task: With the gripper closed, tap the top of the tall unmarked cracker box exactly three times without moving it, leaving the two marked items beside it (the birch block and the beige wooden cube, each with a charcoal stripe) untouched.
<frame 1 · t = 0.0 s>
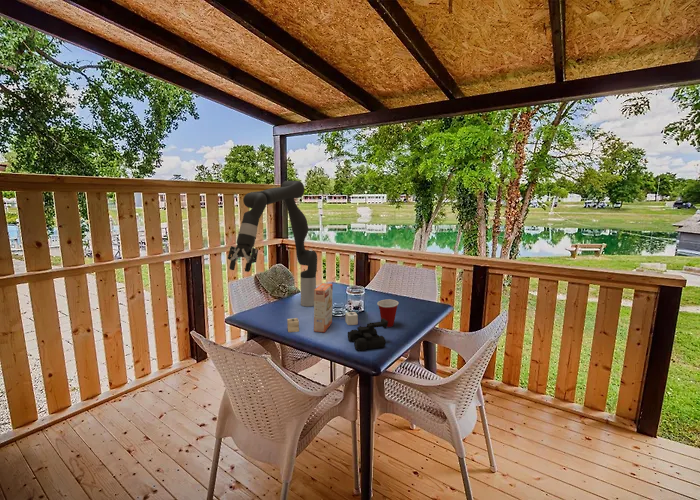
hand: (239, 270, 141), 31 cm above the table, tool tilted 20°, fingers open, 8 cm apart
plastic cup: (387, 325, 165), on the table
night vision goggles: (369, 343, 143), on the table
cracker box: (323, 327, 161), on the table
birch block: (293, 330, 157), on the table
beige wooden cube: (351, 323, 167), on the table
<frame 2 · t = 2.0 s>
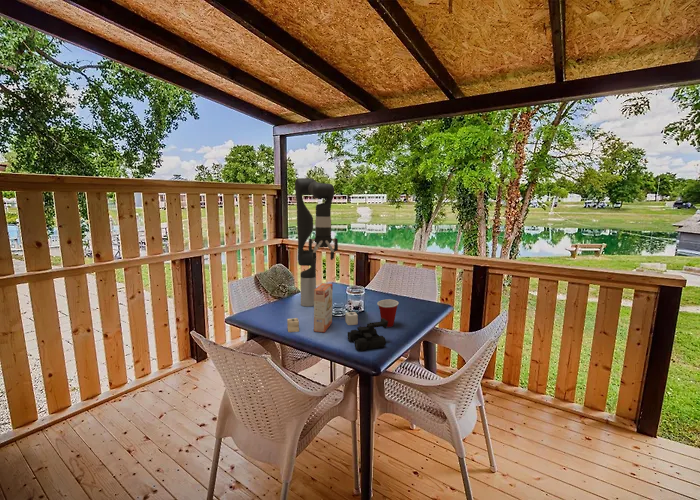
hand: (323, 259, 156), 34 cm above the table, tool pointing down, fingers open, 7 cm apart
nothing on the table moved.
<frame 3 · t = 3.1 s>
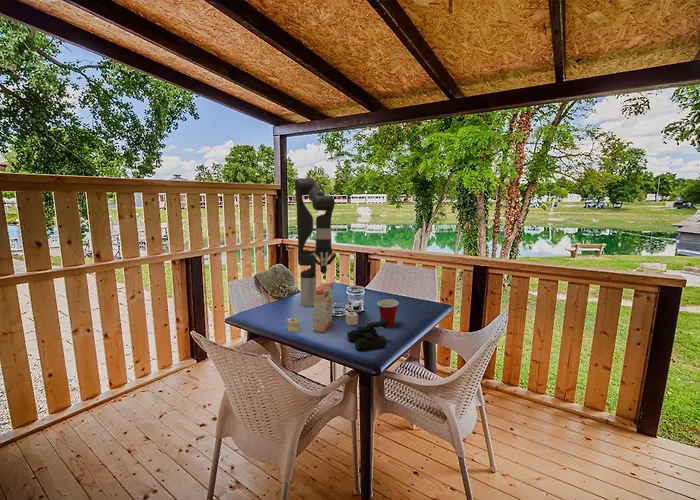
hand: (323, 273, 157), 27 cm above the table, tool pointing down, fingers closed
nothing on the table moved.
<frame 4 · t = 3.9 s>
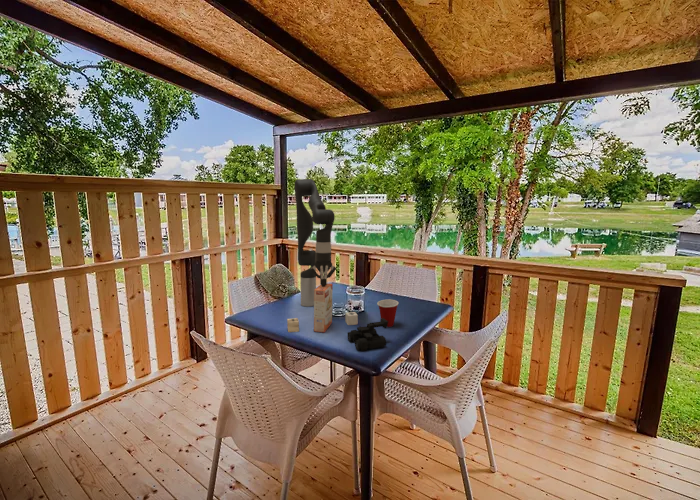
hand: (323, 286, 158), 21 cm above the table, tool pointing down, fingers closed
cracker box: (323, 327, 161), on the table, touching gripper
everything else where it was.
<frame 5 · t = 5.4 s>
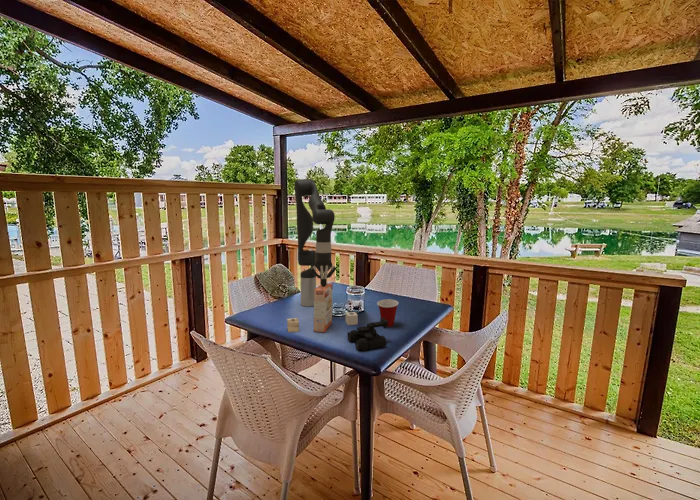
hand: (323, 286, 158), 21 cm above the table, tool pointing down, fingers closed
nothing on the table moved.
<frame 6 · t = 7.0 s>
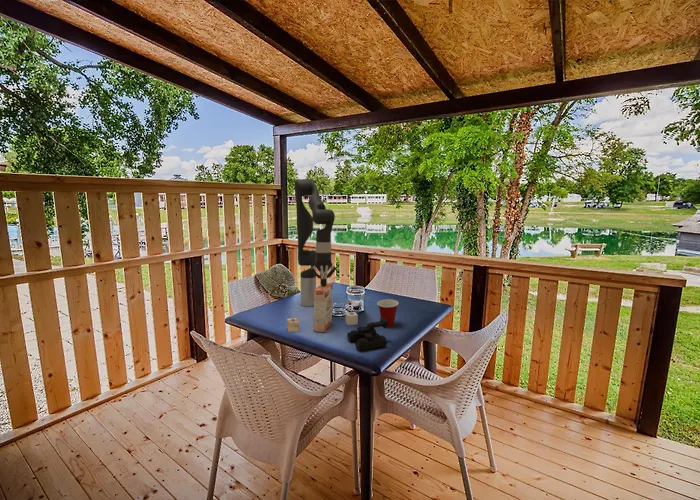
hand: (323, 286, 158), 21 cm above the table, tool pointing down, fingers closed
nothing on the table moved.
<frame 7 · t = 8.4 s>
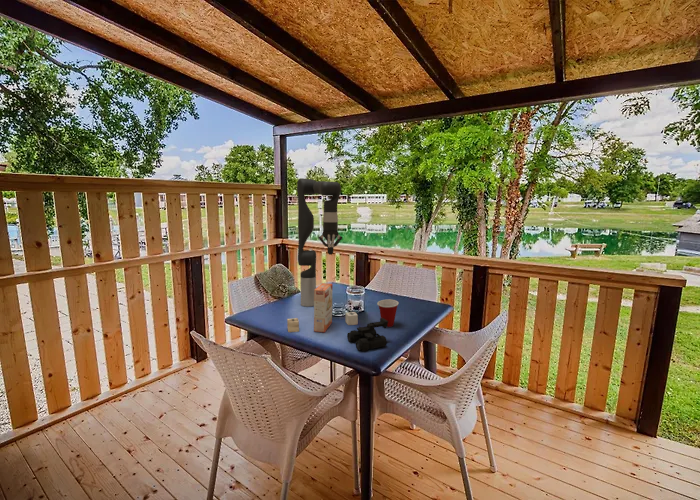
hand: (330, 254, 169), 35 cm above the table, tool pointing down, fingers closed
cracker box: (323, 327, 161), on the table
everything else where it was.
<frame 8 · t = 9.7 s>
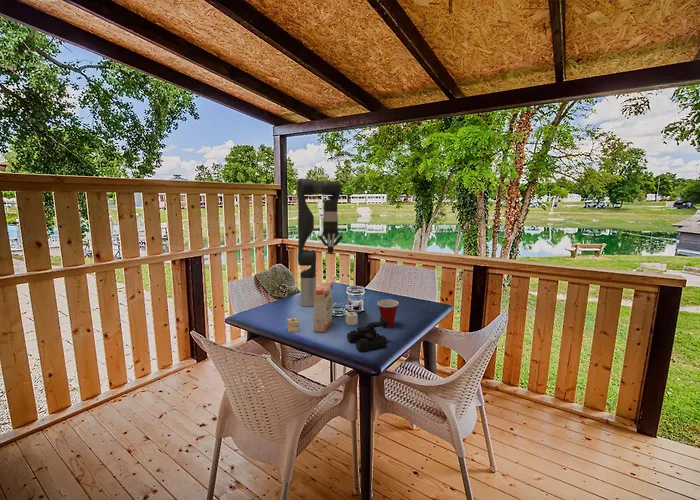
hand: (330, 253, 169), 35 cm above the table, tool pointing down, fingers closed
nothing on the table moved.
at the end: cracker box moved 0.2 cm from its start; cracker box tilted 0°; birch block moved 0.1 cm from its start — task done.
